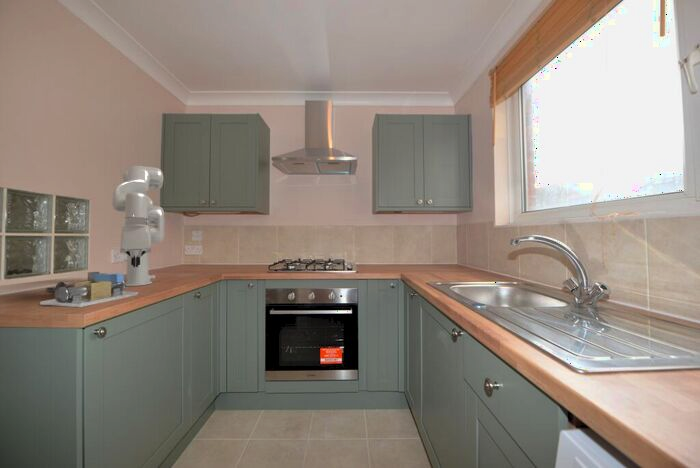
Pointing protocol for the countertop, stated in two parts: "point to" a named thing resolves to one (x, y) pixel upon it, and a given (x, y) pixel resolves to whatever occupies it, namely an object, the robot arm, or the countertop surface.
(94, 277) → the lever
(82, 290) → the pipe valve
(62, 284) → the valve
